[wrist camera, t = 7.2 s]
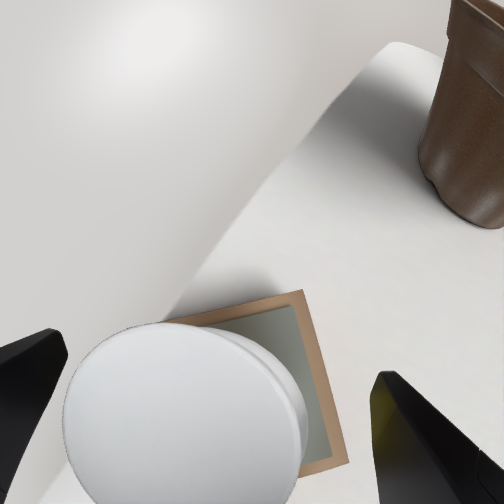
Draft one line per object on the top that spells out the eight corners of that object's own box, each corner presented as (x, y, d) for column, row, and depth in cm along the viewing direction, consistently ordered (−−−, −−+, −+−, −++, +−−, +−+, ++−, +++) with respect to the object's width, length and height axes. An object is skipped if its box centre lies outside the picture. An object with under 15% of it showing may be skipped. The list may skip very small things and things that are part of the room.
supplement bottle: (307, 375, 14) (379, 364, 5) (263, 474, 12) (257, 597, 3) (200, 333, 15) (105, 255, 6) (158, 429, 13) (21, 468, 4)
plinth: (178, 481, 15) (162, 498, 12) (146, 336, 19) (124, 327, 16) (337, 451, 15) (350, 464, 12) (297, 302, 19) (303, 287, 16)
